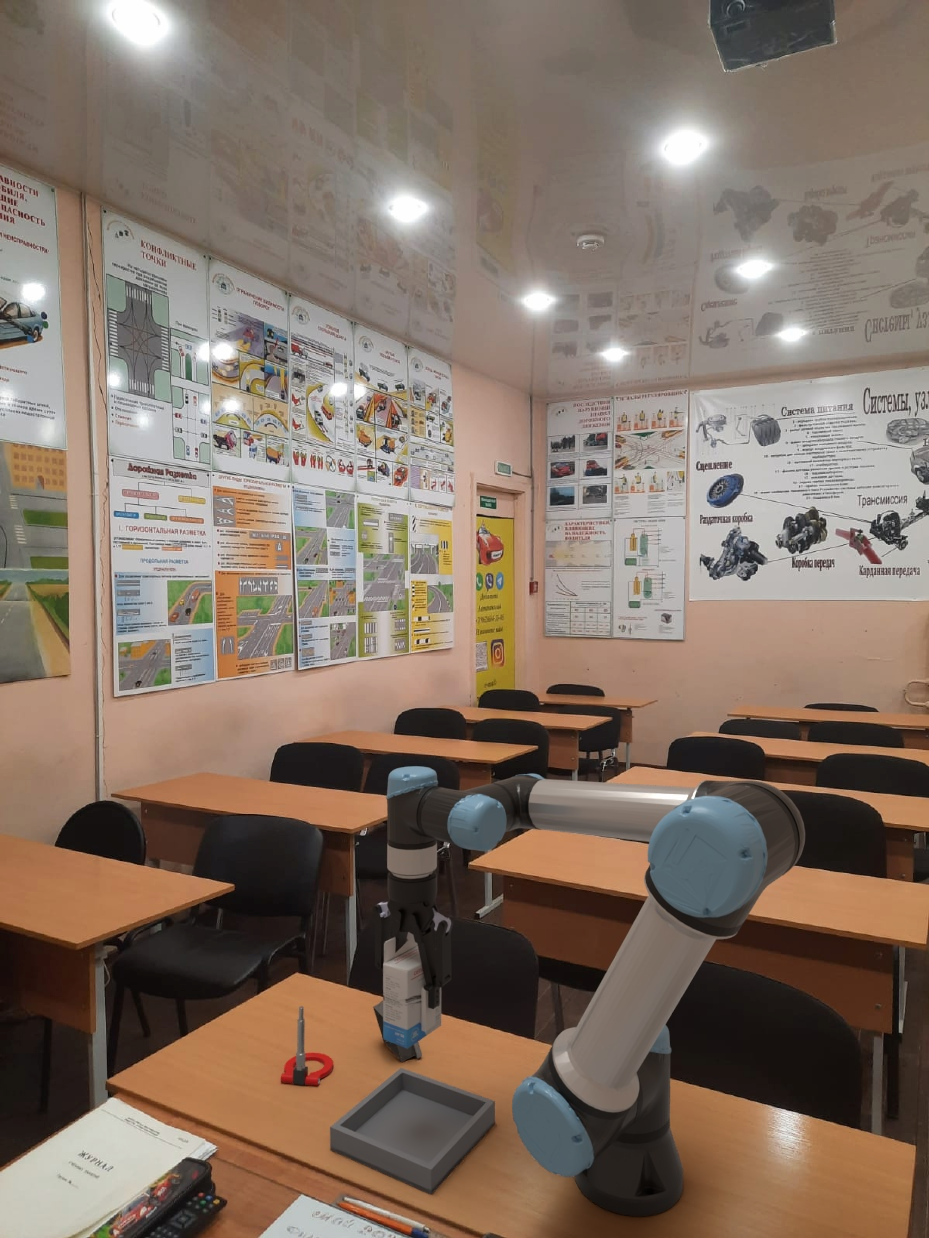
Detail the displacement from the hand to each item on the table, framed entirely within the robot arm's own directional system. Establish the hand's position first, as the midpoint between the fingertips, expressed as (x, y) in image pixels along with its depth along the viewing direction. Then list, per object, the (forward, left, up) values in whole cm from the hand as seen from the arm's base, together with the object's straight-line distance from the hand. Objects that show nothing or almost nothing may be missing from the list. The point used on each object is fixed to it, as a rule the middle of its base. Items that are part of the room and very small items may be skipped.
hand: (412, 1021), depth 125 cm
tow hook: (+26, -5, -18) cm, 32 cm away
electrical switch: (+16, -18, -18) cm, 30 cm away
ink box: (0, 0, -2) cm, 2 cm away
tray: (0, 0, -18) cm, 18 cm away
